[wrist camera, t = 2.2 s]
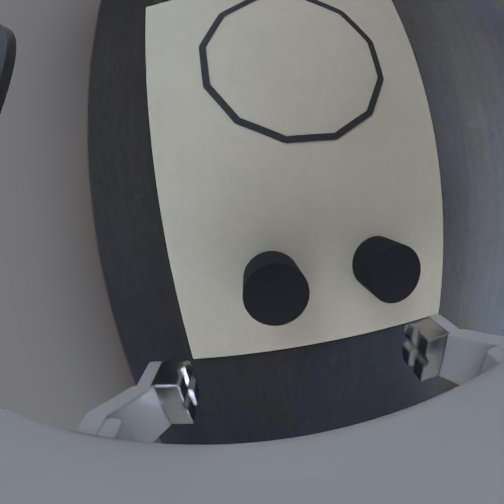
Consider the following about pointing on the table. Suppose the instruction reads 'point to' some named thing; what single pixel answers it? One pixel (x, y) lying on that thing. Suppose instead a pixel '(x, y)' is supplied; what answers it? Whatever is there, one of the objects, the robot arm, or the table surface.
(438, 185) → the sheet
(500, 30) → the table surface
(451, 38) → the table surface
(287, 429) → the table surface
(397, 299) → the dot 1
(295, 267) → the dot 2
